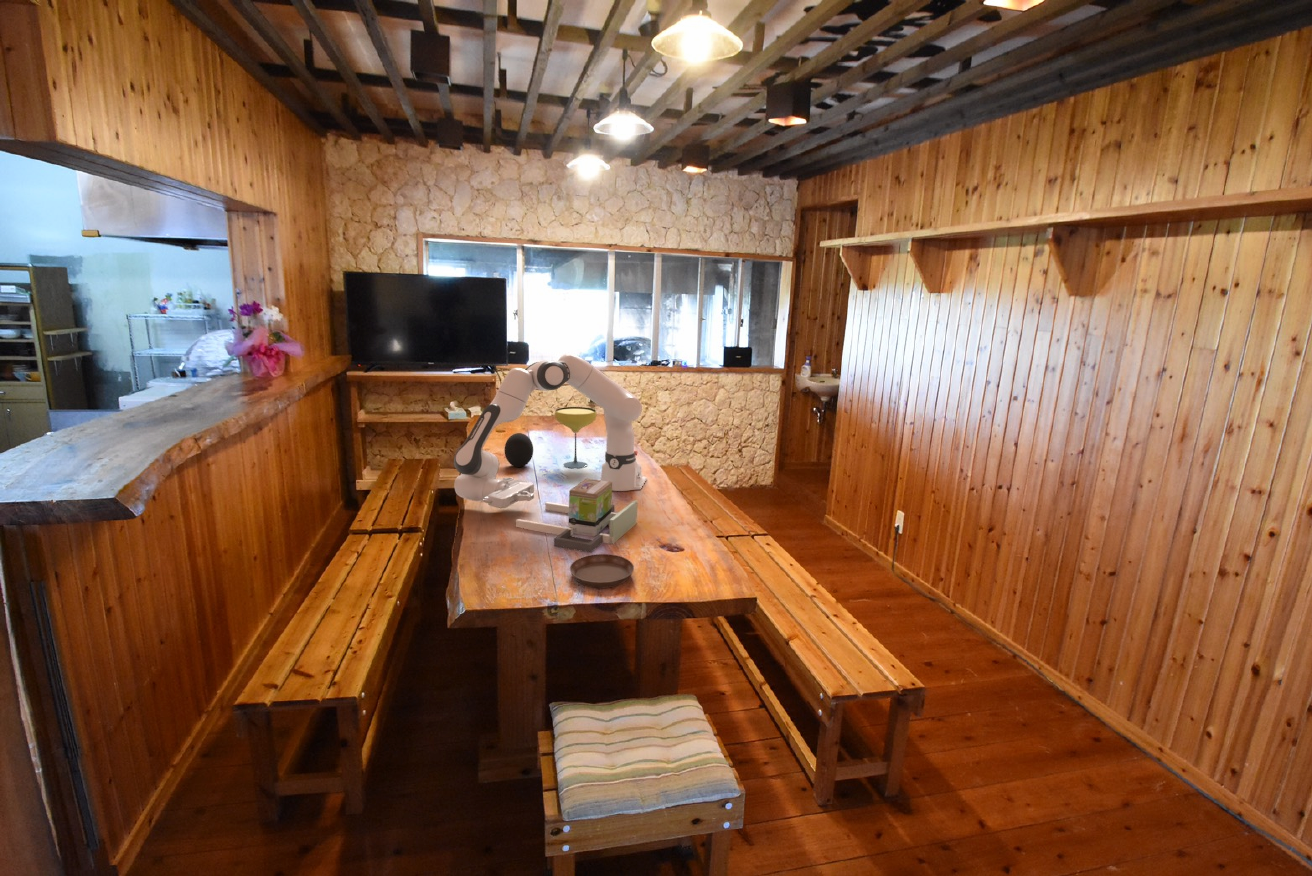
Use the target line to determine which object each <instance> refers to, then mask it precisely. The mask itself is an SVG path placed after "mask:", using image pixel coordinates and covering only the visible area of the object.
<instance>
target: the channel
mask: <svg viewBox="0 0 1312 876" xmlns="http://www.w3.org/2000/svg"><path fill="white" fill-rule="evenodd" d="M544 505H545V510H547V511H551V512H552V511H553V512H558V513H564V512H565V514H569V504H564V503H563V504H562V503H557V502H549V501H546V502H545V504H544ZM637 521H638V500H632V501H631V502H630V503H629V504H628V505H627V506H625V507H624V508H622V509H621V510H619V512H611V519H610V523H609V533H608V534H607V533H602V532H599V533H598V535H603V543H602V544H609V545H614V544H615V543H616V542H617V541H618V540H619V539H621V538H622V537H623V536H624V535H625V534H626V533H627V532H629V530H631V529H632V528H633V527H635V526H636V524H638V523H637ZM515 523H516V524H515V526H516V528H517V527H521V528H520V529H523V528H524V530H530V531H536V532H540V533H541V532H542V533H547V534H551V533H552V535H557V536H558V535H560V534H561V533H562V532H564V531H565V530H567V529H570V530H571V536H573V533H572V528H568V526H560V525H556V524H549V523H543V522H539V521H538V522H537V521H531V520H526V519H522V518H521V519H520V518H518V519H516V521H515Z"/></svg>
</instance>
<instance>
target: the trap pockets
mask: <svg viewBox="0 0 1312 876" xmlns="http://www.w3.org/2000/svg"><path fill="white" fill-rule="evenodd" d="M615 508H616V507H615V504H612V506H611V512H613V513H616V512H615ZM553 544H554V545H553V546H554V547H558V548H563V549H568V548H569V550H574V549H575V550H574V551H579V550H580V552H585V553H592V552H594V550H596V549H597V548H598V547H599V546H600V545H601V544H604V543H603V535H599V534H597V535H596V536H594V538H593V539H589V538H584V537H579V536H578V537H577V536H573V535H572V536H571V530H570V529H567V530H565V531H564V532H562V533H561V534H560V535H557V536H556V537H554V538H553ZM595 548H596V549H595Z"/></svg>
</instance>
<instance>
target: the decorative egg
mask: <svg viewBox="0 0 1312 876" xmlns="http://www.w3.org/2000/svg"><path fill="white" fill-rule="evenodd" d="M533 455H534V445H533V442H532V440H531V438H530V437H529V436H528V435H526V434H524V433H521V432H518V433H517V432H516V433H514V434H511V435H510V436H509V437H508V438H507V440H506V441H505V445H504V456H505V458H506V461H507V462H508V463H509V464H510V465H511V466H513V467H516V468H522V467H524V466H527V465H528V464H529V463H530V462H531V460H532V459H533Z"/></svg>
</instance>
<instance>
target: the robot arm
mask: <svg viewBox="0 0 1312 876" xmlns="http://www.w3.org/2000/svg"><path fill="white" fill-rule="evenodd" d="M565 383H566V384H568V385H570V386H571V387H572V388H574V389H575V390H576V391H578V392H579V393H581V394H582V395H583V396H585V397H586V398H587V399H589V400H590V401H591V402H593V403H595V404H596V405H597V406H599V407H600V408H601V409H602V410H603V416H604V424H605V431H606V447H605V448H606V451H605V455H604V460H605V462H604V463H602V464H601V475H600V476H601V477H600V480H601V481H609V482H612V492H617V491H618V492H627V491H633V490H634V491H635V490H641V488H643V487H644V485H645V484H646V482H647V479H648V478H647V476H644V475H642V466H641V465H640V464H639V463H638V461H637V459H636V458H637V456H638V450H635V431H634V428H633V424H632V422H634V421H637V420H638V419H639V418H640V416H641V415H642V413H643V412H642V411H643V405H642V403H641V401H640V399H639V398H638V397H637V396H635V395H634V393H631V392H630V391H628V390H627V389H626V388H625V387H623V386H622V385H621V384H619V383H617V382H616V381H614V380H613V379H612V378H610V377H609V376H607V375H606V374H604V373H603V372H602V371H601V370H599V369H598V368H597V367H595V366H594V365H593V364H591V363H590V362H589V361H587V360H586V359H584V358H581V357H580V356H578V355H576V354H574V353H572V352H568V353H565V354H563V355H561V357H560V358H559V359H558V360H539V361H537V362H534V363H532V364H530V365H528V367H526V368H521V367H513V368H511V369H510V370H508V373H507V374H506V375H505V376H504V378H503V380H502V382H501V384H500V385H499V388H498V389H497V392H496V394H495V396H494V398H493V400H492V401H491V402H490V404H489V405H487V406H486V407H485V408H484V409H483V411H482V412H481V414H480V415H479V417H478V418H477V421H475V424H474V426H473V427H472V429H471V431H470V432H469V434H468V436H467V438H466V439H465V441H464V442H462V444H461V445H460V447H458V448H457V450H456V451H455V454H454V458H453V464H454V468H455V469H456V471H457V472H459V475H458V476H457V477H456V478H455V480H454V484H453V486H454V491H455V493H456V495H457V496H458V497H460V498H462V499H465V500H468V501H473V502H483V503H485V504H487V505H488V506H490V507H493V508H497V509H506V508H508V507H510V506H513V505H514V504H515V503H517V502H524V501H525V502H530V501H532V500H534V498H535V493H534V492H535V484H534V483H533V482H531V481H527V480H523V479H522V480H521V479H515V478H514V477H511V476H510V477H504V478H497V475H498V473H499V469H500V460H499V458H498V457H497V455H495V454H494V453H492V452H489V451H487V450H484V447H485V444H486V442H487V441H488V439H489V438H490V435H491V434H492V432H493V431H494V429H495V428H496V427H497V426H499V425H501V424H504V423H510V422H513V421H516V420H518V419H519V418H520V417H521V415H522V414H523V412H524V410H525V408H526V406H527V403H528V401H529V398H530V397H531V395H532V394H533V392H534V391H535V390H536V391H545V392H548V391H556V390H558V389H560V388H561V387H562V386H563V385H565ZM645 481H646V482H645ZM644 483H645V484H644ZM642 486H643V487H642Z"/></svg>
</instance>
